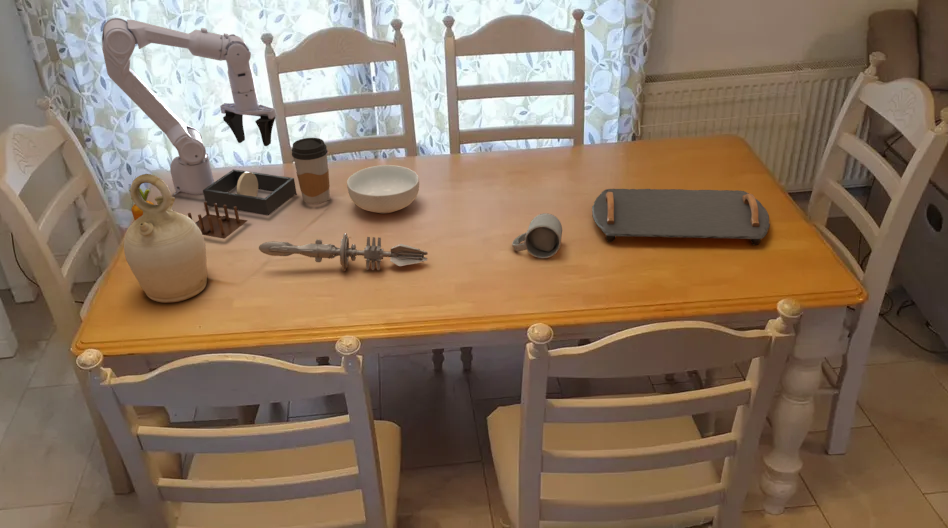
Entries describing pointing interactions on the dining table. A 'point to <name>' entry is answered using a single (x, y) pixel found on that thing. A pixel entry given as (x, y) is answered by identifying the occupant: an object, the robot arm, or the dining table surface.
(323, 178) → the coffee cup
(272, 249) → the spaceship
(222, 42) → the robot arm
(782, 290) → the dining table surface
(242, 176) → the saucer
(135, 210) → the carrot
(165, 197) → the jug
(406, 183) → the cereal bowl
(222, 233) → the dish rack
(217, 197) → the dark grey open box
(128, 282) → the dining table surface
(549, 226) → the ceramic mug
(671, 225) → the serving tray
